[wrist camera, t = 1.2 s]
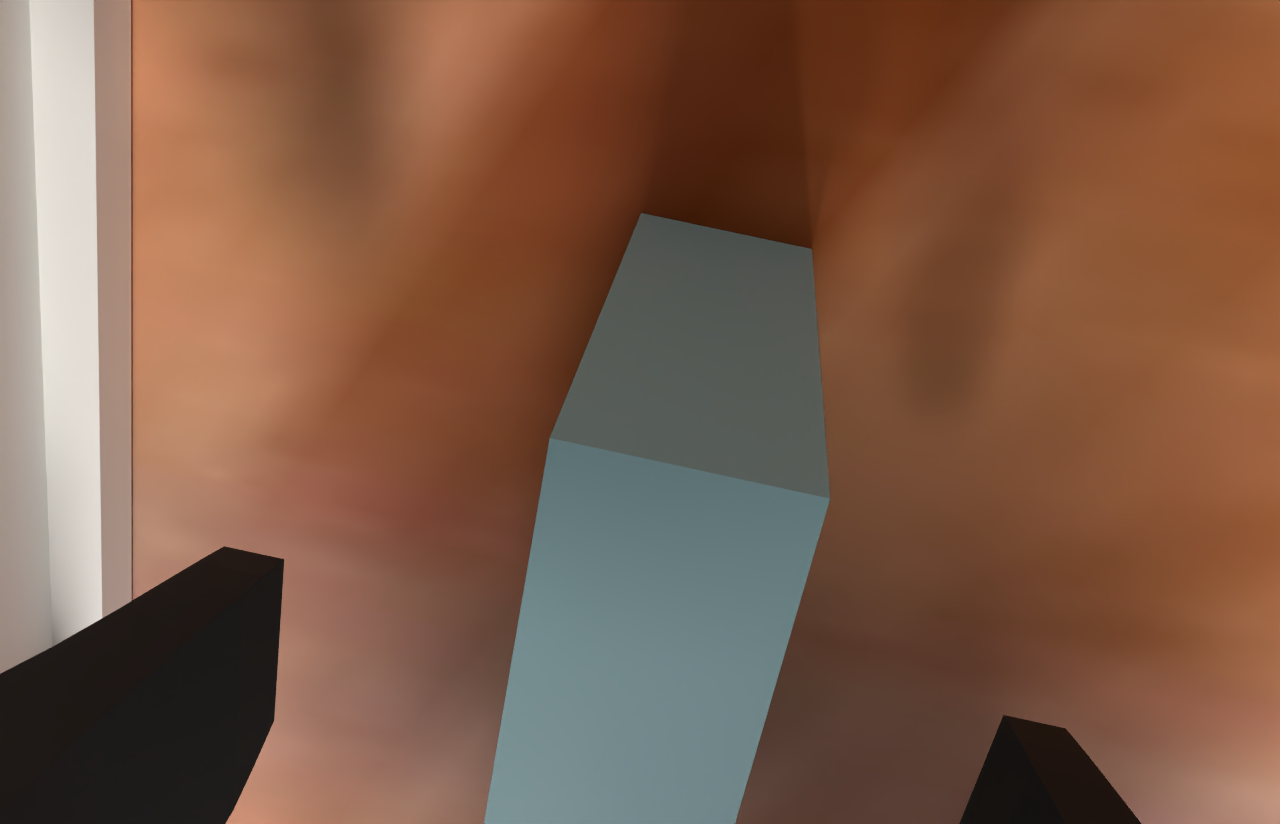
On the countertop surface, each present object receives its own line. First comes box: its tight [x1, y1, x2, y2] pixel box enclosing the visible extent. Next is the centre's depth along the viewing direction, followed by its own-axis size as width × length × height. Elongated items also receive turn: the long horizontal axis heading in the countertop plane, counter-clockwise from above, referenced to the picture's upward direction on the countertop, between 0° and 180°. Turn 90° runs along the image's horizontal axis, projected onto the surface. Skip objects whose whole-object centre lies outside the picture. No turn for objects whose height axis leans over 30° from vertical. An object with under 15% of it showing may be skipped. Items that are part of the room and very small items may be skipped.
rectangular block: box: [484, 213, 830, 824], centre depth 13 cm, size 8×2×6 cm, turn 169°
